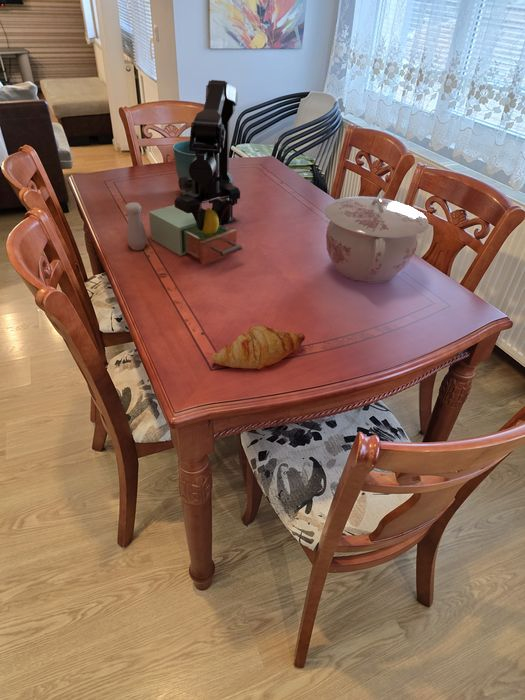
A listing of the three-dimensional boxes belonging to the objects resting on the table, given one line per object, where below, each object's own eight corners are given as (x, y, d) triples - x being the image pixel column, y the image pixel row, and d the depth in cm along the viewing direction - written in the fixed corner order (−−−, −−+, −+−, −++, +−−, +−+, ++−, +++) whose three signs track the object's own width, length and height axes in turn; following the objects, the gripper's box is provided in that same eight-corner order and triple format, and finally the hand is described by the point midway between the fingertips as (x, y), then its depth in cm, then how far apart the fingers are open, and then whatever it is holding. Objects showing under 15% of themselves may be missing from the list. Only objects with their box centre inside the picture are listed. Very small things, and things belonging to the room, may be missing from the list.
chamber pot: (354, 241, 149) (366, 175, 136) (430, 274, 134) (453, 204, 121) (295, 267, 133) (303, 195, 120) (375, 308, 118) (394, 230, 105)
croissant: (217, 387, 96) (223, 372, 89) (202, 344, 100) (207, 327, 93) (306, 362, 104) (318, 347, 97) (290, 323, 107) (300, 306, 100)
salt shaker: (143, 252, 135) (138, 209, 127) (124, 250, 135) (118, 206, 127) (151, 244, 139) (146, 201, 131) (132, 241, 140) (127, 199, 132)
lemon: (211, 241, 129) (210, 214, 124) (195, 236, 131) (194, 208, 126) (222, 235, 133) (222, 208, 128) (207, 230, 135) (206, 203, 130)
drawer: (248, 258, 133) (249, 236, 129) (215, 272, 126) (215, 249, 122) (206, 236, 143) (206, 215, 139) (173, 247, 136) (172, 225, 132)
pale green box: (216, 243, 142) (216, 216, 137) (180, 256, 134) (178, 227, 129) (186, 227, 150) (185, 201, 145) (151, 239, 142) (148, 211, 137)
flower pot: (233, 194, 177) (234, 147, 166) (204, 207, 164) (203, 157, 154) (196, 183, 184) (194, 137, 173) (165, 195, 171) (161, 146, 161)
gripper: (215, 157, 131) (215, 211, 140) (159, 169, 120) (164, 226, 130) (242, 167, 125) (240, 223, 134) (186, 181, 114) (189, 240, 124)
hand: (208, 227), depth 131 cm, fingers closed on lemon, 5 cm apart
